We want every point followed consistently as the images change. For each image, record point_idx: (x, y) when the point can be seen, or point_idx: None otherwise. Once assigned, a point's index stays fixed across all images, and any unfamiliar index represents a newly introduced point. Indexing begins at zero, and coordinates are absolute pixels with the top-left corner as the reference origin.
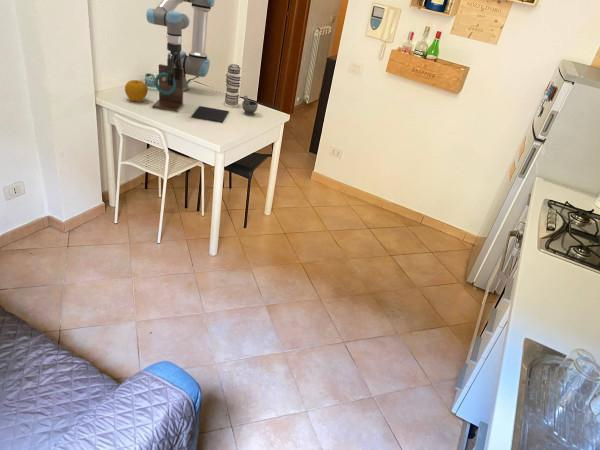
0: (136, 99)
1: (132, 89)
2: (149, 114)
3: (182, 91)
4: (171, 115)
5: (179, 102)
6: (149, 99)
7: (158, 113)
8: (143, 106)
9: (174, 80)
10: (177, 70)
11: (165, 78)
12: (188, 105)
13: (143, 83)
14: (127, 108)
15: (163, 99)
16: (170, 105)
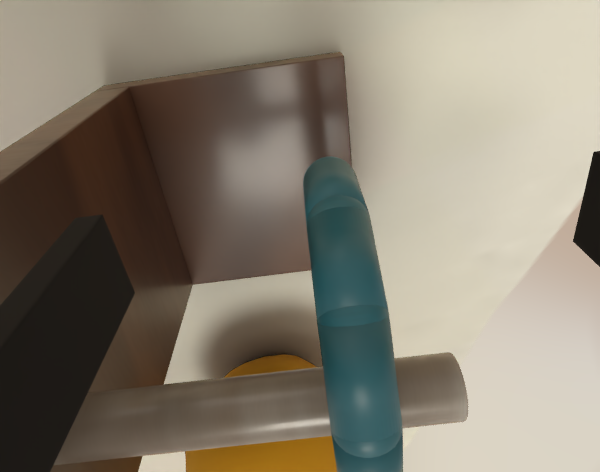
0: None
1: None
2: (508, 210)
3: (65, 127)
4: (457, 50)
5: (136, 116)
6: (197, 336)
7: (456, 167)
8: None
9: (351, 245)
10: (22, 420)
11: (441, 382)
12: (67, 28)
13: (250, 466)
14: None
15: (181, 258)
16: (266, 154)
